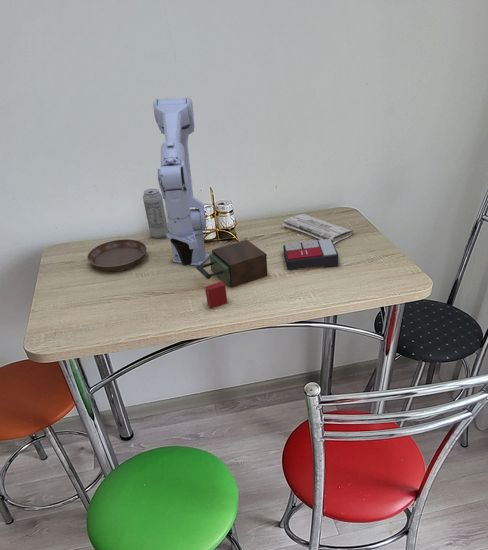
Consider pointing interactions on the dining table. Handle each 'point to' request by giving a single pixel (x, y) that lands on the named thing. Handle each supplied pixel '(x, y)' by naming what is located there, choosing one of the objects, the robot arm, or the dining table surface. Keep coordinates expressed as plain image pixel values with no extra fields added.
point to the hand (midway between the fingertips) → (186, 263)
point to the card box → (216, 294)
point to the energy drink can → (155, 213)
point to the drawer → (216, 269)
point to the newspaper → (317, 228)
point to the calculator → (310, 254)
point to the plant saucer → (117, 254)
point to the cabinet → (243, 261)
